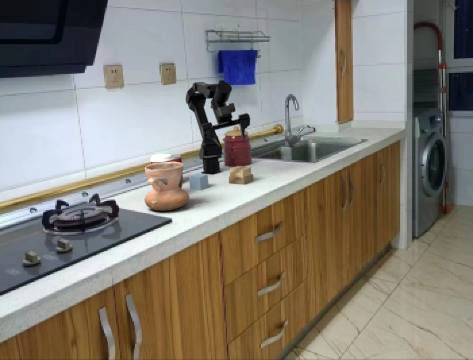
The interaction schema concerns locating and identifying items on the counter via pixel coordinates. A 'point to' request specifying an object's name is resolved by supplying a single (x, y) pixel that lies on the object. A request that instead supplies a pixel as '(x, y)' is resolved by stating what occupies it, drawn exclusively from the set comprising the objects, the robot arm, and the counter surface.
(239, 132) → the canister
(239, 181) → the tower base
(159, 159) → the coffee cup
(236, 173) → the tower mid
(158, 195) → the ceramic jug
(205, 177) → the block
